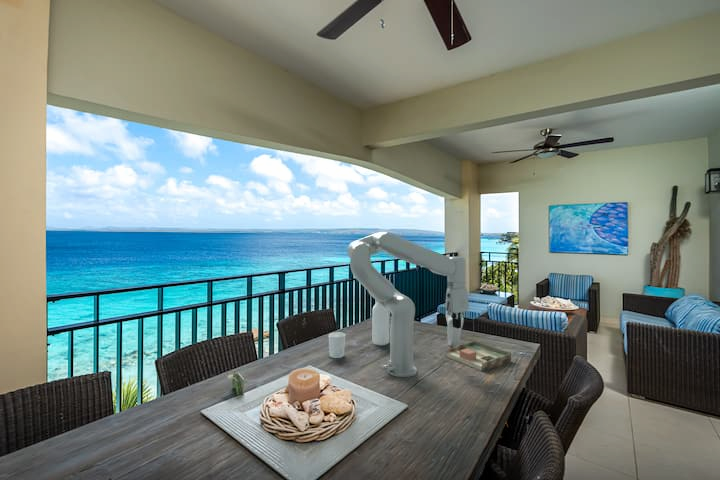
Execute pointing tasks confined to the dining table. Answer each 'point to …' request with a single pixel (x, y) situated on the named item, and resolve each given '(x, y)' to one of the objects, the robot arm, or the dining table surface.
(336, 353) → the white cup
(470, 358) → the block
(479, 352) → the box
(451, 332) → the shell sculpture
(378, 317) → the alcohol
